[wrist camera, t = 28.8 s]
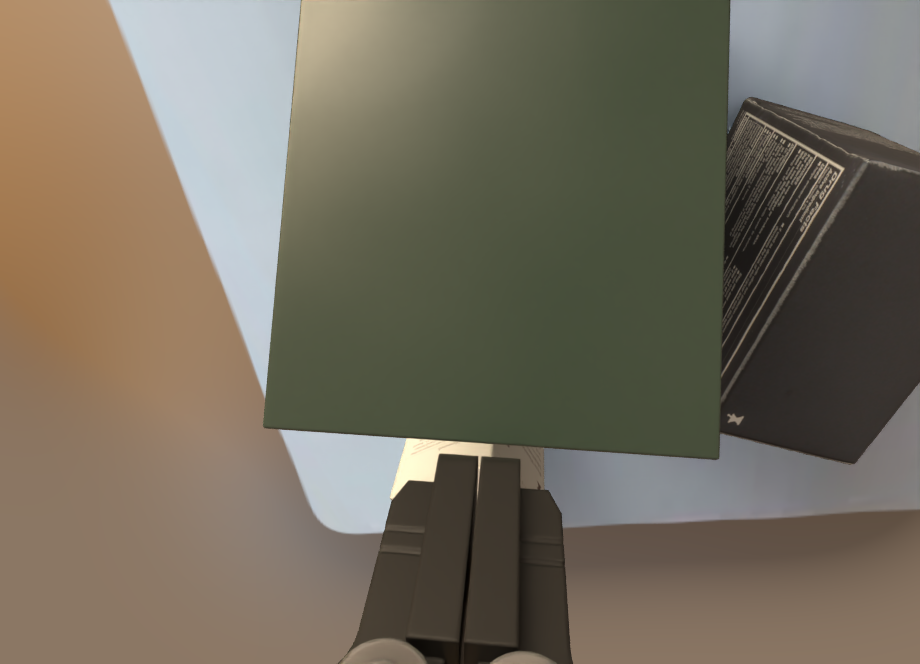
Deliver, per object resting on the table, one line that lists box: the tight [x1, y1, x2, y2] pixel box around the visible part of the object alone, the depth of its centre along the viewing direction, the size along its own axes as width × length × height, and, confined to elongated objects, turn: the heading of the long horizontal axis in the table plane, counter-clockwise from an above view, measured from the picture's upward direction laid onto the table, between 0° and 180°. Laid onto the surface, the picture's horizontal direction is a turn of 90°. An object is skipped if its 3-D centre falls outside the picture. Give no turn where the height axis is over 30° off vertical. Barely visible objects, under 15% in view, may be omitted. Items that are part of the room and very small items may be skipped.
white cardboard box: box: [390, 438, 544, 500], centre depth 33 cm, size 6×6×7 cm
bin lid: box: [263, 0, 730, 460], centre depth 15 cm, size 12×11×1 cm
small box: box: [720, 97, 920, 465], centre depth 24 cm, size 11×6×10 cm, turn 166°
